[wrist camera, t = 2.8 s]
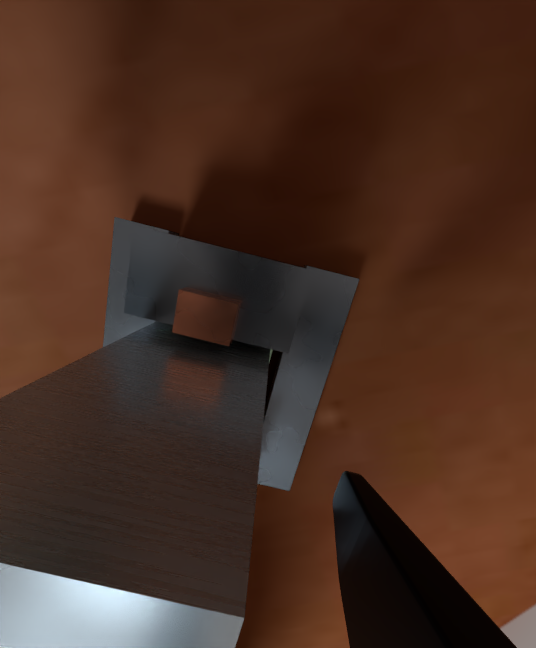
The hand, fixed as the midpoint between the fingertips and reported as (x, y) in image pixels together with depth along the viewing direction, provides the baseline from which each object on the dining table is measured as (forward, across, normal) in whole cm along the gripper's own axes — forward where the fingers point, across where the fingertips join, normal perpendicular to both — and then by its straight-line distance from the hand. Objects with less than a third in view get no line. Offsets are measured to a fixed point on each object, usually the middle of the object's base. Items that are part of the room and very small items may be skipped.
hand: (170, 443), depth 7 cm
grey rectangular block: (+5, 0, 0) cm, 5 cm away
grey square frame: (+5, 0, 0) cm, 5 cm away
